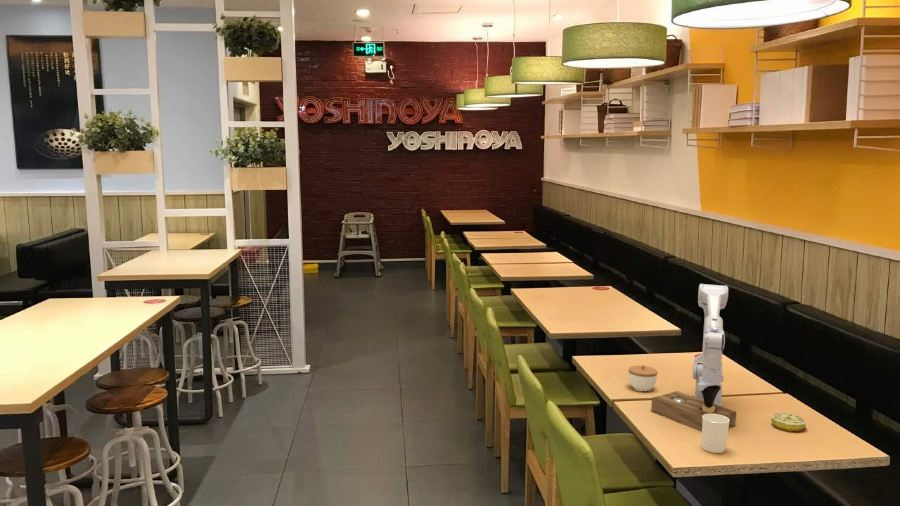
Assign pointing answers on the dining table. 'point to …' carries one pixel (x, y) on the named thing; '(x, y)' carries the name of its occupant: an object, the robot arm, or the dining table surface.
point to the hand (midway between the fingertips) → (708, 406)
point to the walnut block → (687, 409)
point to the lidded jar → (642, 377)
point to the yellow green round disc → (788, 422)
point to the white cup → (714, 432)
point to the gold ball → (708, 409)
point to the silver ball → (679, 399)
